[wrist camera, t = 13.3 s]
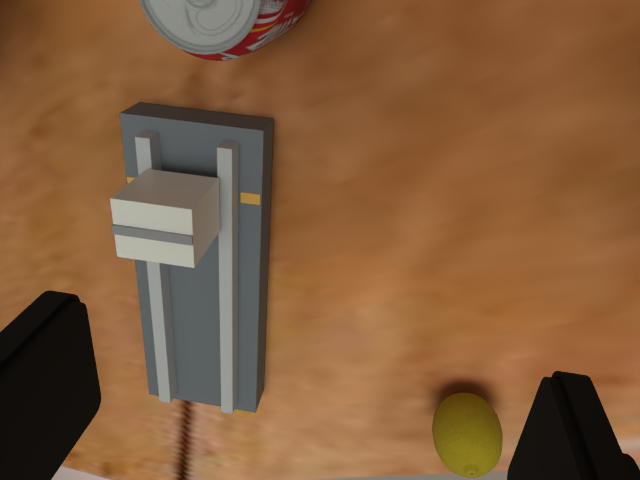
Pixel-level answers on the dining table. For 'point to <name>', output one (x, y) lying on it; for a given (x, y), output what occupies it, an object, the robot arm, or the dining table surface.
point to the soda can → (222, 24)
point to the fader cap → (166, 217)
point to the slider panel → (207, 257)
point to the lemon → (467, 435)
